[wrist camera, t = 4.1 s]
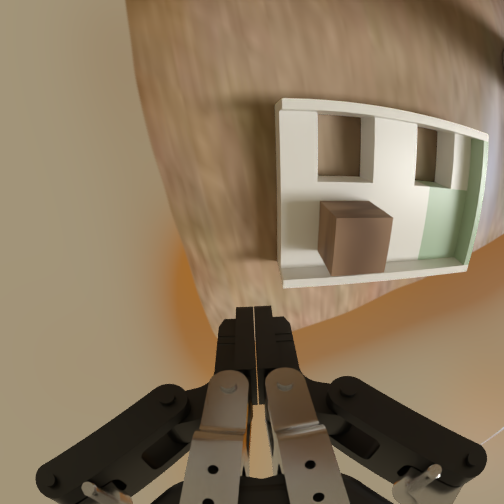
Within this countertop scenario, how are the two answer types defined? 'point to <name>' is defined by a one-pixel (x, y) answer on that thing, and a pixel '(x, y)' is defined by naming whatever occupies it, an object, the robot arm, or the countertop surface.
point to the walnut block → (353, 237)
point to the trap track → (378, 191)
